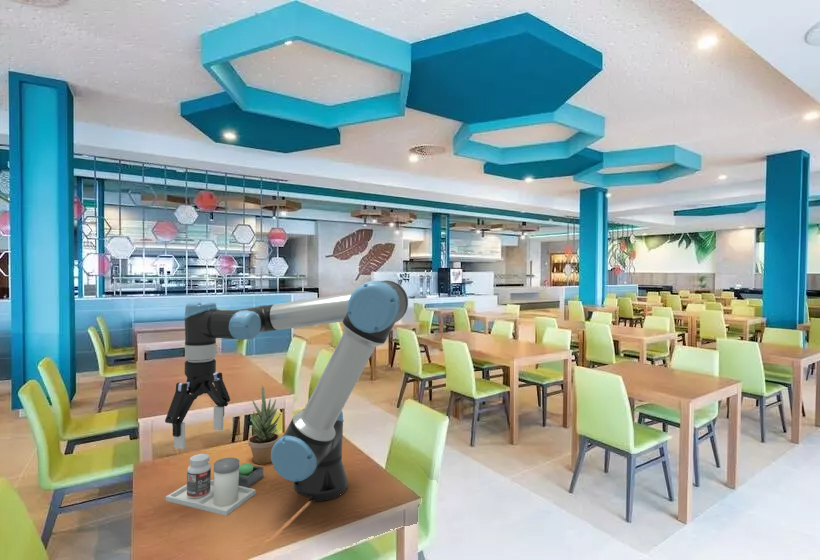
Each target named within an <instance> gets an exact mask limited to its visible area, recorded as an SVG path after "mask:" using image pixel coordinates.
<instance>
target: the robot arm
mask: <svg viewBox="0 0 820 560" xmlns="http://www.w3.org/2000/svg"><path fill="white" fill-rule="evenodd" d="M408 307H409V298H408V295H407V292H406V291H405V289H404V288H403V287H402V286H401V285H400V284H398V283H397V282H394V281H392V280H369V281H367V282H365V283H363V284H361V285H359V286H358V287H356V288H355V289H354V290H353V292H350V293H341V294H337V295H335V294H334V295H329V296H322V297H314V298H310V299H302V300H295V301H287V302H282V303H274V304H269V305H267V304H265V305H259V306H255V307H247V308H241V309H233V310H232V309H228V310H227V309H218V307H217V303H216V302H215V301H209V300H208V301H206V300H203V301H202V300H201V301H190V302H187V303H186V305H185V312H184V319H183V320H184V335H185V336H184V337H185V341H184V359H185V361H184V375H185V376H186V381H185V382H176V384H175V385H176V386H175V393H174V395H173V398H172V400H171V403H170V406H169V409H168V411H167V414H166V417H165V420H164V423H166V424H171V425H172V437H173V438H174V439H173V448H174V449H177V450H184V449H186V423H185V422H184V420H185V418H186V416H187V414H188V412H189V410H190V408H191V407H192V404H193V403H194V401H195V400H196V399H197V398H198V397H200V396H202V395H203V394H207V395H208V397H210V399H211V400H212V402H213V403H214V404H215V406H213V430H215V431H224V417H225V407H227V406H228V405H229V403H230V401H231V397H230V394H229V392H228V390H227V387H226V384H225V382H224V380H223V379H224V377H223V373H222V372H219V371H217V361H216V359H215V358H216V357H217V339H225V340H226V339H228V340H238V341H244V340H254V339H255V338H257V335H259V334H261V333H267V332H274V331H280V330H286V329H287V330H288V329H295V328H303V327H310V326H311V327H312V326H320V325H327V324H334V323H342V326H343V330H344V331H343V333H342V335H341V337H340V339H339V341H338V342H337V345H336V347H335V349H334V350H333V353H332V355H331V357H330V358H329V360H328V362H327V364H326V366H325V368H324V370H323V372H322V374H321V376H320V378H319V380H318V382H317V383H316V385H315V387H314V389H313V391H312V393H311V395H310V396H309V399H308V401H307V403H306V405H305V407H304V408H303V409H302V410H301V411H298V412H296V413H295V414H294V415H293V417H292V418H291V421H290V423H289V425H288V426H287V428H286V430H285V432H284V434H283V435H282V436H281V437H280V436H279V439H278V440H277V441H276V443H275V444H274V446H273V448H272V451H271V463H272V465H273V468H274V470H275V472H276V473H277V474H278V475H279V476H280V477H282V479H285V480H287V481H288V482H289V481H291V482H293V490H294V491H295V492H296V493H297V494H299V495H301V496H303V497H307V498H310V499H308V502H309V501H310V502H324V501H325V500H326V501H330V500H333V499H332V498H334V499H336V498H338V497H340V496H341V495H340V494H342V493H343V492H344V491H345V490H346V491H347V489H348V477H347V473H346V470H345V466H344V463H343V432H344V431H343V430H344V429H343V427H344V415H343V410H344V407H345V405H346V403H347V401H348V399H349V397H350V395H351V394H352V392H353V390H354V388H355V386H356V385H357V383H358V381H359V379H360V377H361V375H362V373H363V371H364V369H365V367H366V366H367V363H369V360H370V359H371V356H372V354H373V352H374V350H375V349H376V347H377V346H381V345H385V342H386V341H387V339H388V337H389V335H390V333H391V332H392V330H393V328H394V326H395V324H396V323H397V322H399V321H400V320H401V319H402V318H403V317H404V316H405V314H406V313H407V310H408ZM346 488H347V489H346ZM346 491H345V492H346ZM345 492H344V493H345ZM344 493H343V494H344ZM343 494H342V495H343ZM339 495H340V496H339ZM337 496H338V497H337ZM335 497H336V498H335ZM329 499H330V500H329Z"/></svg>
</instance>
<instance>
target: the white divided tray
mask: <svg viewBox="0 0 820 560" xmlns="http://www.w3.org/2000/svg"><path fill="white" fill-rule="evenodd" d="M254 495H257V489H255V488H251V487H248V488H247V487H242V486H238V500H237V502H235V503H234V504H232V505H229V506H223V507H220V506H216V505H214V503H213V499H214V479H211V480H210V492H209V494H208V495H206V496H204V497H201V498H196V499H193V498H189V497H188V496H187V483H186V484H184V485H182V486H181V487H179V488H178V489H176V490H175V491H173V492H171V493H169V494H168V495H166V496H165V502H169V503H173V504H176V505H180V506H184V507H189V508H193V509H197V510H202V511H204V512H205V511H206V512H210V513H212V514H213V513H214V514H217V515H220V516H221V515H222V516H225V517H226V516H228V515H229V514H230V513H232V512H233V511H235V510H236V509H237V508H238V507H240V506H242V505H243V504H244V503H246V502H247V501H248V500H249V499H251V498H252V497H253V496H254Z"/></svg>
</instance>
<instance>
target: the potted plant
mask: <svg viewBox="0 0 820 560" xmlns="http://www.w3.org/2000/svg"><path fill="white" fill-rule="evenodd" d="M271 398H272V397H269V401H268V404H267V402H266V391H265V386H263V385H261V404H260V405H261V410H260V408H259V407H258V406H257V404H256V403H255V401H254V400H253V399H252V400H251V401H252V404H253V407H254V408H255V410H256V412H257V414H256V412H254V411H253V416H254V417H255V418H254V417H253V416H252V415H251V414H250V419H251V420H252V422H253V423H254V424H255V426H254V425H252V428H253V433H254V435H251V436H250V437H248V440H247V442H248V446H249V447H250V450H251V451H250V452H251V454H252V459H253V462H254V463H255V464H258V465H259V464H260V465H265V464H269V463H272V461H271V451H272V448H273V446H274V444H275V443H276V441H277V440H278V439H279V438H280V435H279V434H278V433H276V432H277V431H278V429H276V427H277V425H278V421H279V419H280V417H281V413H280V414H279V416H278V417H277V418H276V419H275V420H274V422H273V419H274V417H275V416H276V413H277V411H278V407H276V403H277V402H276V401H277V399H274V402H273V404H271ZM275 407H276V408H275ZM272 422H273V423H272ZM271 423H272V424H271Z"/></svg>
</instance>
